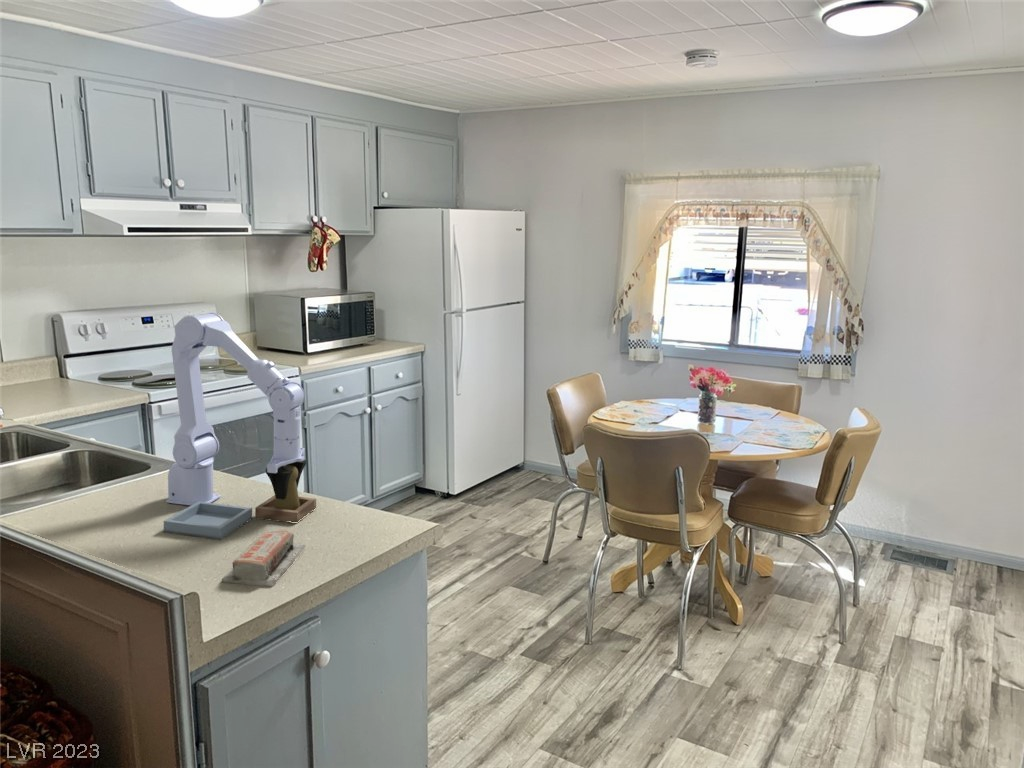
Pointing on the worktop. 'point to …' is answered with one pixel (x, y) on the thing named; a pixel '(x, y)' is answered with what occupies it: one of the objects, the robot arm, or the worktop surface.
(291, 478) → the cork
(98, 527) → the worktop surface
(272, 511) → the frame
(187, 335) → the robot arm
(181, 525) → the parts tray
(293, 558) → the packaged product
